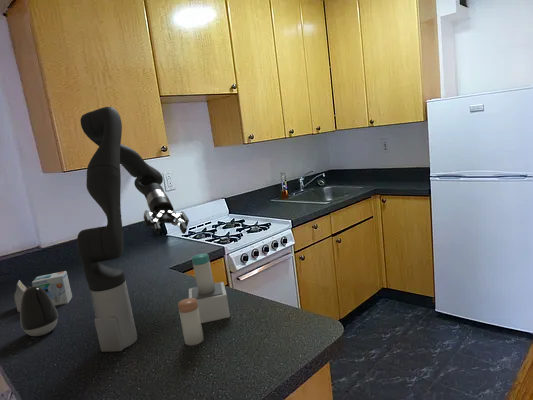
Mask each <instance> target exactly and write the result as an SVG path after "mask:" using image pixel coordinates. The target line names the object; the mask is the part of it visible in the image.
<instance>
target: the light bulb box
mask: <svg viewBox="0 0 533 400" xmlns="http://www.w3.org/2000/svg"><path fill="white" fill-rule="evenodd" d="M31 285H32V286H38V287H40V288H42V289H43V290H44V291H45V292H46V293H47V294H48V296H49V297H50V299H51V300H52V302H53V304H54V306H55V307H57V306H61V305H65V304H69V303H70V301H71V299H72V298H73V293H72V290H71V286H70V281H69V277H68V272H67V271H66V270H64V271H59V272H54V273H50V274H49V273H48V274H44V275H39V276H36V277H35V278H34V280H33V281H32V282H31ZM32 286H31V287H32Z"/></svg>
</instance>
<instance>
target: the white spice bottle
mask: <svg viewBox="0 0 533 400" xmlns="http://www.w3.org/2000/svg"><path fill="white" fill-rule="evenodd" d="M177 307H178V308H177V309H178V312H179V317H180V323H181V328H182V333H183V340H184V344H185V345H186V346H196V345H198V344H200V343H202V342H203V341H204V340H205V339H204V337H205V336H204V332H203V327H202V323H201V320H200V315H199V309H198V304H197V299H195V298H189V297H188V298H185V299H181V300H180V301H179V302H178V303H177Z"/></svg>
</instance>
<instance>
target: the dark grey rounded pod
mask: <svg viewBox="0 0 533 400" xmlns="http://www.w3.org/2000/svg"><path fill="white" fill-rule="evenodd" d="M58 318H59V313H58V311H57V308H56V306H54V304H53V302H52V300H51V299H50V297H49V296H48V294H47V293H46V292H45V291H44V290H43V289H42V288H40V287H38V286H29V285H27V286H26V290H25V292H24V293H23V296H22V299H21V305H20V312H19V320H20V321H19V322H20V327H21V329H22V330H23V331H24V332H25V334H27V335H29V336H31V337H41V336H44V335H47V334H48V333H50V332H51V331H53V330H54V329H55V327H56V326H57V324H58Z"/></svg>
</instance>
